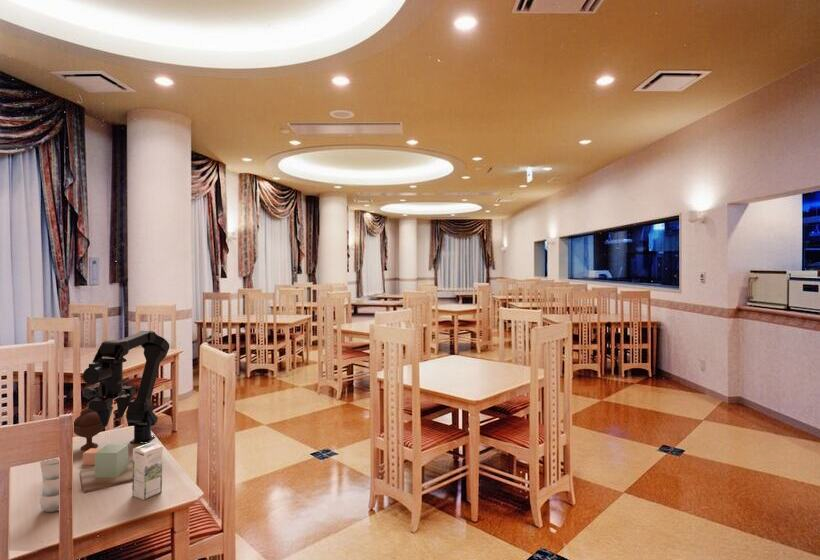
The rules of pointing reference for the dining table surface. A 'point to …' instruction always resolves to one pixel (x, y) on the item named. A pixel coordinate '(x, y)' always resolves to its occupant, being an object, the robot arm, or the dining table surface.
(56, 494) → the plastic bottle
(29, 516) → the dining table surface
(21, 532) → the dining table surface
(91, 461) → the terracotta cube
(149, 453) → the syrup box
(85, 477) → the walnut board
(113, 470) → the mint green cube
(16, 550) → the dining table surface
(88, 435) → the ice cream bowl
